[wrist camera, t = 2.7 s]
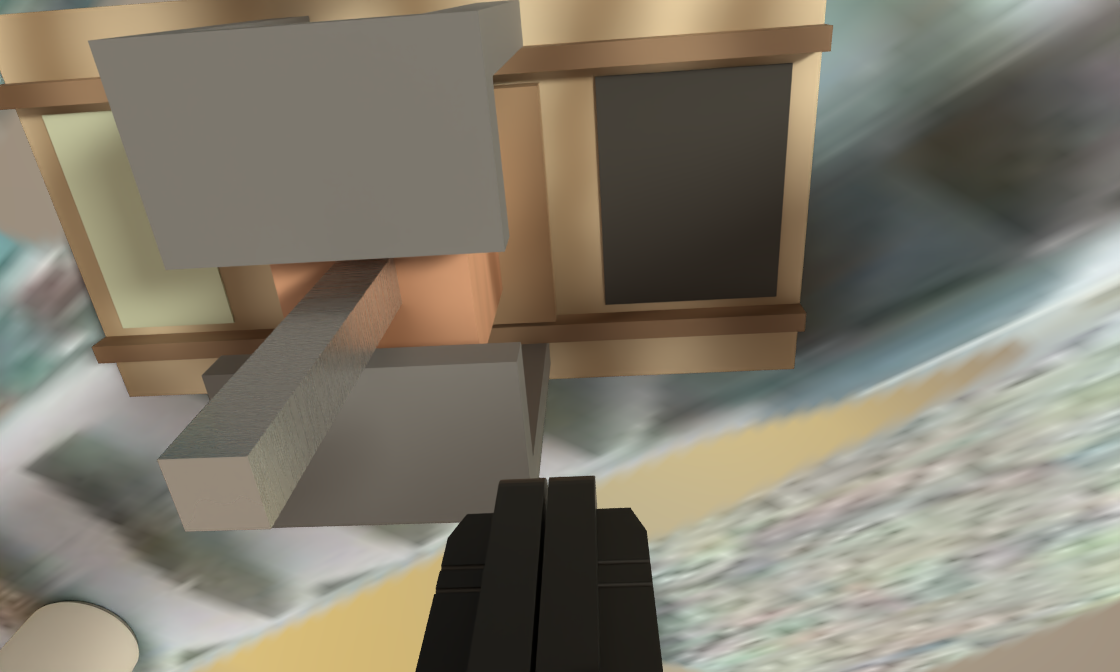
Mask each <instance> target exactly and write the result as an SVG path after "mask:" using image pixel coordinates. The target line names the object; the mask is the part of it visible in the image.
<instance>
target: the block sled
mask: <svg viewBox="0 0 1120 672" xmlns="http://www.w3.org/2000/svg"><path fill="white" fill-rule="evenodd" d="M493 86H494V96H495V105H496V114H497V124H498V133H499V142H500V152H501V161H502V171H503V180H504V189H505V199H506V208H507V217H508V227H509V236H510V237H509V240H508V243H507V246H506V249H505V252H490V253H471V254H453V255H434V256H416V257H397V258H379V259H360V260H342V261H323V262H305V263H286V264H270V268H271V272H272V276H273V279H274V283H275V287H276V290H277V294H278V298H279V302H280V305H281V309H282V313H283V316H284V320H283V321H282V322H281V323H280V324H279V325H278V326H277V327H276V329H275V330H274V331H273V332H272V333H271V334H270V335H269V336H268V337H267V338H266V340H265V341H264V342H263V343H262V344H261V345H260V346H259V347H258V348H257V350H256V351H255V352H254V353H253V354H252V355H251V356H250V357H249V358H248V360H247V361H246V362H245V363H244V364H243V365H242V366H241V367H240V368H239V369H238V371H237V372H236V373H235V374H234V375H233V376H232V377H231V378H230V379H229V381H228V382H227V383H226V384H225V385H224V386H223V387H222V388H221V389H220V391H219V392H218V393H217V394H216V395H215V396H214V397H213V398H212V399H211V400H210V402H209V403H208V404H207V405H206V406H205V407H204V408H203V409H202V410H201V412H200V413H199V414H198V415H197V416H196V417H195V418H194V419H193V420H192V422H191V423H190V424H189V425H188V426H187V427H186V428H185V429H184V430H183V431H182V433H181V434H180V435H179V436H178V437H177V438H176V439H175V440H174V441H173V443H172V444H171V445H170V446H169V447H168V448H167V449H166V450H165V451H164V453H163V454H162V455H161V456H160V457H159V458H158V459H157V461H158V463H159V466H160V468H161V471H162V473H163V476H164V479H165V481H166V484H167V486H168V489H169V491H170V494H171V496H172V499H173V501H174V504H175V506H176V509H177V511H178V514H179V516H180V519H181V522H182V524H183V527H184V529H185V532H186V531H220V530H255V529H271V528H272V526H273V525H274V523H275V521H276V519H277V518H278V516H279V514H280V513H281V511H282V509H283V507H284V506H285V504H286V502H287V500H288V499H289V497H290V495H291V494H292V492H293V490H294V488H295V487H296V485H297V483H298V482H299V480H300V478H301V476H302V475H303V473H304V471H305V470H306V468H307V466H308V464H309V463H310V461H311V459H312V458H313V456H314V454H315V452H316V451H317V449H318V447H319V445H320V444H321V442H322V440H323V439H324V437H325V435H326V433H327V432H328V430H329V428H330V427H331V425H332V423H333V421H334V420H335V418H336V416H337V415H338V413H339V411H340V409H341V408H342V406H343V404H344V402H345V401H346V399H347V397H348V396H349V394H350V392H351V390H352V389H353V387H354V385H355V384H356V382H357V380H358V378H359V377H360V375H361V373H362V372H363V370H364V368H365V366H366V365H367V363H368V361H369V360H370V358H371V356H372V354H373V353H374V351H375V349H376V348H398V347H420V346H442V345H464V344H486V343H488V340H489V336H490V333H491V329H492V326H493V325H496V324H517V323H538V322H556V318H557V302H556V290H555V277H554V264H553V252H552V239H551V227H550V214H549V201H548V189H547V176H546V163H545V151H544V138H543V126H542V113H541V100H540V88H539V82H534V83H520V84H506V85H493Z"/></svg>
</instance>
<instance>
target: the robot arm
mask: <svg viewBox="0 0 1120 672" xmlns="http://www.w3.org/2000/svg"><path fill="white" fill-rule="evenodd" d="M441 567H442V569H441V571H440V573H439V577H438V581H437V585H436V594H434V598H433V602H432V606H431V610H430V614H429V618H428V622H427V626H426V631H425V635H424V639H423V643H422V647H421V651H420V655H419V659H418V663H417V668H416V672H663V667H662V658H661V650H660V641H659V633H658V624H657V615H656V607H655V598H654V590H653V582H652V573H651V564H650V556H649V547H648V538H647V531H646V529H645V528H644V526H643V525H642V524H641V522H640V521H639V519H638V518H637V517H636V515H635V514H634V512H633V511H632V510H631V508H609V509H597V500H596V484H595V476H575V477H550V478H549V483H548V485H547V480H546V478H530V479H505V480H500V481H499V485H498V490H497V496H496V502H495V508H494V513H480V514H467V515H466V516H465V517H464V518H463V520H462V521H461V522H460V523H459V525H458V526H457V527H456V528H455V530H454V531H453V532H452V533H451V535H450V536H449V537H448V540H447V544H446V548H445V552H444V556H443V561H442V565H441Z"/></svg>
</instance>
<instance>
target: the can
mask: <svg viewBox="0 0 1120 672" xmlns="http://www.w3.org/2000/svg"><path fill="white" fill-rule="evenodd" d="M138 658H139V649H138V643H137V639H136V636H135V634H134V632H133V631H132V629H131V628H130V627H129V626H128V624H127V623H126V622H125V621H123V620H122V619H121V618H120V617H119V616H117V615H116V614H114V613H112V612H111V611H109V610H107V609H105V608H103V607H100V606H98V605H95V604H91V603H87V602H82V601H62V602H57V603H53V604H49V605H46V606H43V607H41V608H40V609H38V610H37V611H35V612H34V613H33V614H32V615H31V616H30V617H29V618H28V619H27V621H26V622H25V623H24V624H23V625H22V626H21V627H20V628H19V629H18V631H17V632H16V633H15V634H14V635H13V636H12V637H11V638H10V640H9V641H8V642H7V643H6V644H5V645H4V646H3V647H2V649H1V650H0V672H132V670H133V668H134V667H135V665H136V663H137V661H138Z"/></svg>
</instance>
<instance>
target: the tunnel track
mask: <svg viewBox="0 0 1120 672" xmlns="http://www.w3.org/2000/svg"><path fill="white" fill-rule="evenodd" d="M825 9H826V0H181V1H168V2H156V3H143V4H130V5H118V6H105V7H93V8H80V9H67V10H55V11H42V12H30V13H17V14H5V15H0V71H1V74H2V76H3V79H4V81H5V84H1V85H0V110H5V109H16V112H17V114H18V117H19V119H20V122H21V124H22V127H23V129H24V132H25V134H26V137H27V139H28V142H29V144H30V147H31V149H32V152H33V154H34V157H35V159H36V162H37V164H38V167H39V169H40V172H41V174H42V177H43V179H44V182H45V184H46V187H47V190H48V192H49V195H50V197H51V200H52V202H53V205H54V207H55V210H56V212H57V215H58V217H59V220H60V222H61V225H62V227H63V230H64V232H65V235H66V237H67V240H68V242H69V245H70V247H71V250H72V252H73V255H74V258H75V260H76V263H77V265H78V268H79V270H80V273H81V275H82V278H83V280H84V283H85V285H86V288H87V290H88V293H89V295H90V298H91V300H92V303H93V305H94V308H95V310H96V313H97V315H98V318H99V320H100V323H101V325H102V328H103V331H104V333H105V336H106V337H105V338H103V339H102V340H101V341H99V342H98V343H97V344H95V345H94V346H93V347H92V349H93V352H94V354H95V356H96V359H97V361H98V363H117V366H118V368H119V371H120V373H121V376H122V378H123V381H124V383H125V386H126V388H127V391H128V393H129V396H130V397H136V396H160V395H184V394H208V397H209V399H210V400H211V399H212V398H213V397H214V396H215V395H216V394H217V393H218V392H219V391H220V389H221V388H222V387H223V386H224V385H225V384H226V383H227V382H228V381H229V379H230V378H231V377H232V376H233V375H234V374H235V373H236V372H237V371H238V369H239V368H240V367H241V366H242V365H243V364H244V363H245V362H246V361H247V360H248V358H249V357H250V356H251V355H252V354H253V353H254V352H255V351H256V350H257V348H258V347H259V346H260V345H261V344H262V343H263V342H264V341H265V340H266V338H267V337H268V336H269V335H270V334H271V333H272V332H273V331H274V330H275V329H276V327H277V326H278V325H279V324H280V323H281V322H282V321H283V320H284V316H283V313H282V309H281V305H280V302H279V298H278V294H277V290H276V287H275V283H274V279H273V276H272V272H271V268H270V264H286V263H305V262H323V261H342V260H360V259H379V258H397V257H416V256H434V255H453V254H471V253H490V252H505V249H506V246H507V243H508V240H509V237H510V236H509V227H508V217H507V208H506V199H505V189H504V180H503V171H502V161H501V152H500V142H499V133H498V124H497V114H496V105H495V96H494V86H493V85H506V84H520V83H534V82H539V88H540V100H541V113H542V126H543V138H544V151H545V163H546V176H547V189H548V201H549V214H550V227H551V239H552V252H553V264H554V277H555V290H556V302H557V318H556V322H538V323H517V324H496V325H493V326H492V329H491V333H490V336H489V340H488V343H486V344H464V345H442V346H420V347H398V348H376V349H375V351H374V353H373V354H372V356H371V358H370V360H369V361H368V363H367V365H366V366H365V368H364V370H363V372H362V373H361V375H360V377H359V378H358V380H357V382H356V384H355V385H354V387H353V389H352V390H351V392H350V394H349V396H348V397H347V399H346V401H345V402H344V404H343V406H342V408H341V409H340V411H339V413H338V415H337V416H336V418H335V420H334V421H333V423H332V425H331V427H330V428H329V430H328V432H327V433H326V435H325V437H324V439H323V440H322V442H321V444H320V445H319V447H318V449H317V451H316V452H315V454H314V456H313V458H312V459H311V461H310V463H309V464H308V466H307V468H306V470H305V471H304V473H303V475H302V476H301V478H300V480H299V482H298V483H297V485H296V487H295V488H294V490H293V492H292V494H291V495H290V497H289V499H288V500H287V502H286V504H285V506H284V507H283V509H282V511H281V513H280V514H279V516H278V518H277V519H276V521H275V523H274V525H273V526H272V528H284V527H318V526H353V525H387V524H422V523H456V522H461V521H462V520H463V518H464V517H465V516H466V515H467V514H480V513H494V508H495V502H496V496H497V490H498V485H499V481H500V480H505V479H530V478H539V472H540V462H541V453H542V443H543V433H544V424H545V414H546V404H547V395H548V385H549V379H564V378H588V377H612V376H635V375H659V374H683V373H707V372H730V371H754V370H778V369H794V364H795V352H796V341H797V332H802V331H805V323H806V312H805V311H804V309H803V308H802V306H801V304H800V295H801V284H802V272H803V261H804V249H805V238H806V227H807V215H808V204H809V192H810V181H811V169H812V158H813V146H814V135H815V124H816V112H817V101H818V89H819V78H820V66H821V55H822V52H827V51H831V42H832V31H833V25H827V24H824V21H825Z"/></svg>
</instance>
